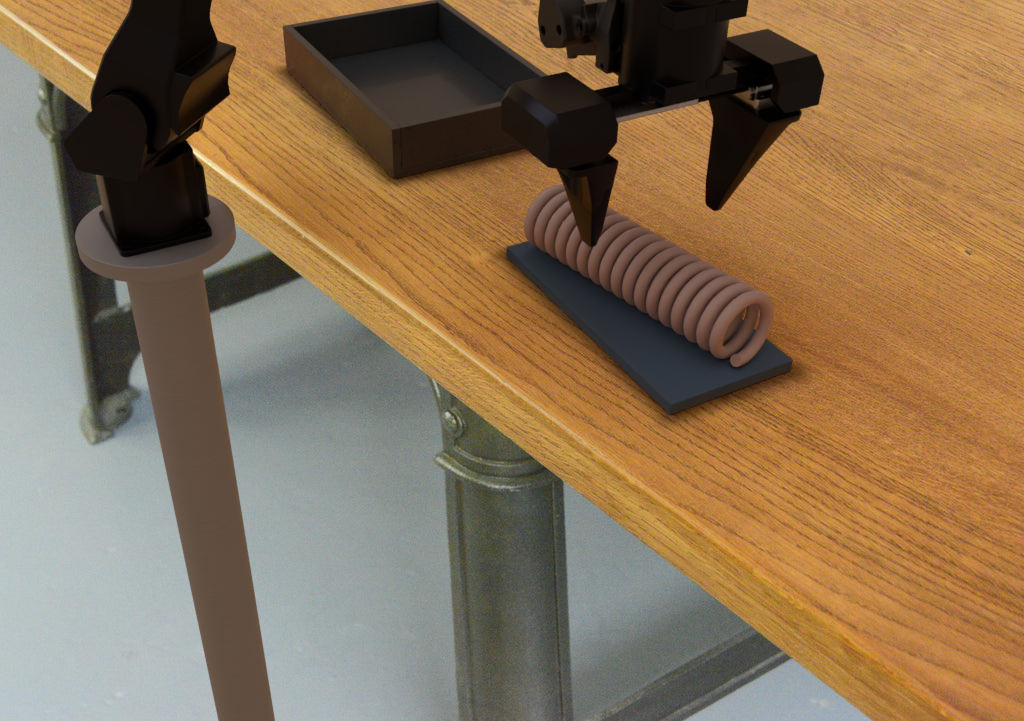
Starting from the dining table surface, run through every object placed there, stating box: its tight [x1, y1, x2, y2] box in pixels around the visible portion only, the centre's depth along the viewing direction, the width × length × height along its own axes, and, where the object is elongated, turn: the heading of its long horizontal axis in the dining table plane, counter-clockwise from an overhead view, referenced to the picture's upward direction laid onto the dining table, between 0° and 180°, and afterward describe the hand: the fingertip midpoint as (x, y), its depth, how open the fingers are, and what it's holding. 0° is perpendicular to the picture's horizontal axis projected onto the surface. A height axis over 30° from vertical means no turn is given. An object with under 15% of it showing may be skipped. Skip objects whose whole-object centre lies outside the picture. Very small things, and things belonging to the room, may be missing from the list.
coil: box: [523, 183, 774, 367], centre depth 72 cm, size 5×5×18 cm
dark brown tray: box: [282, 0, 548, 180], centre depth 96 cm, size 15×22×4 cm
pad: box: [505, 240, 794, 416], centre depth 74 cm, size 9×19×1 cm, turn 30°
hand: (652, 225), depth 70 cm, fingers open, 9 cm apart
